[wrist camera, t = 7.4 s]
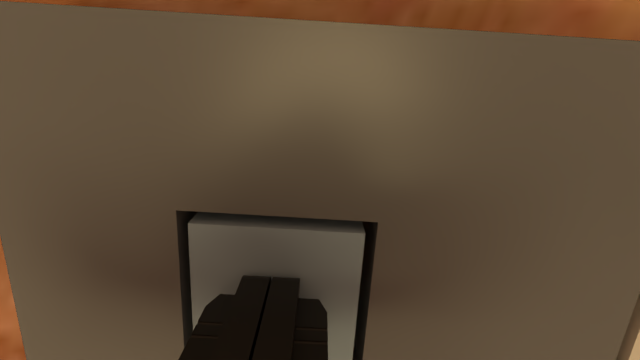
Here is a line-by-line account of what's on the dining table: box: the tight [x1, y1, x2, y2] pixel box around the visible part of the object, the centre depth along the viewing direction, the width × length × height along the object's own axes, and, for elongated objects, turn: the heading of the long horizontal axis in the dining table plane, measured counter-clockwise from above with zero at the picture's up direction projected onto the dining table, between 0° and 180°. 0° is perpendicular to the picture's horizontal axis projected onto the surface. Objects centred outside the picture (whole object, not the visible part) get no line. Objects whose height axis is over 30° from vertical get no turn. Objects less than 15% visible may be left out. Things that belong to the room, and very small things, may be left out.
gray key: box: [188, 212, 365, 360], centre depth 11 cm, size 4×4×2 cm
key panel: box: [0, 1, 640, 360], centre depth 12 cm, size 26×14×4 cm, turn 87°
